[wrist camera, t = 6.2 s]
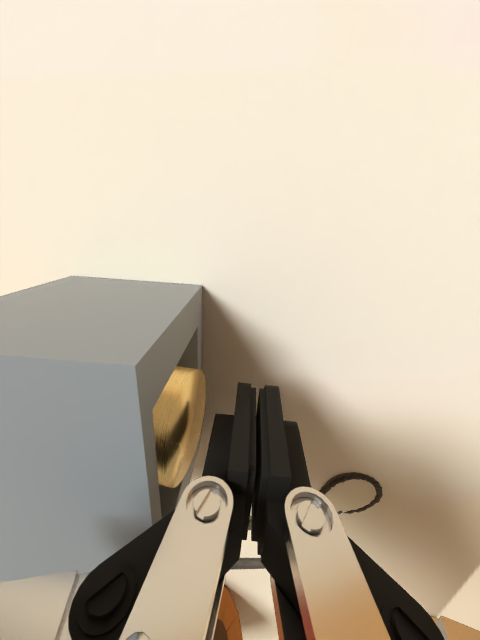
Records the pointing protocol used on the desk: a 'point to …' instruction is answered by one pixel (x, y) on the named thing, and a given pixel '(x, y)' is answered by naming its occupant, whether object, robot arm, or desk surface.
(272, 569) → the robot arm
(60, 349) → the grey hollow block
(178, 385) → the axle
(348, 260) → the desk surface
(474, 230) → the desk surface
